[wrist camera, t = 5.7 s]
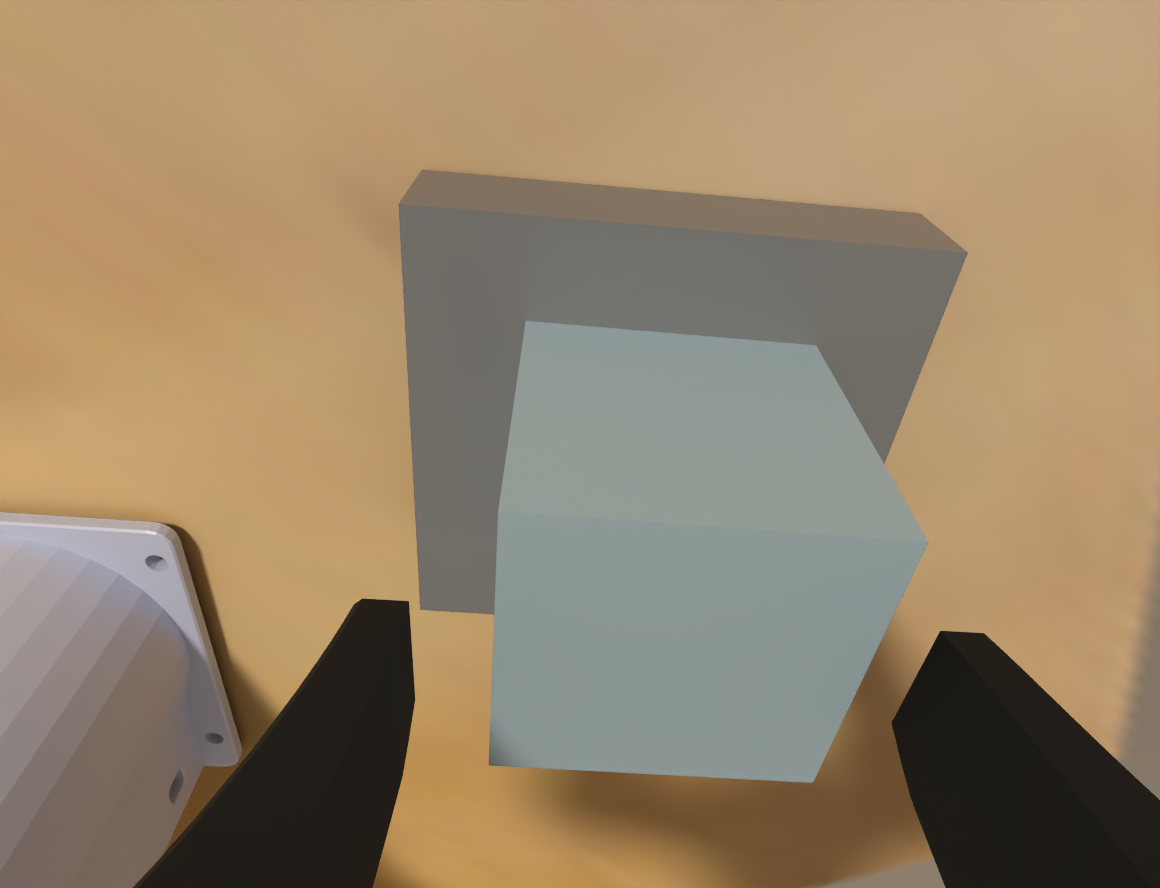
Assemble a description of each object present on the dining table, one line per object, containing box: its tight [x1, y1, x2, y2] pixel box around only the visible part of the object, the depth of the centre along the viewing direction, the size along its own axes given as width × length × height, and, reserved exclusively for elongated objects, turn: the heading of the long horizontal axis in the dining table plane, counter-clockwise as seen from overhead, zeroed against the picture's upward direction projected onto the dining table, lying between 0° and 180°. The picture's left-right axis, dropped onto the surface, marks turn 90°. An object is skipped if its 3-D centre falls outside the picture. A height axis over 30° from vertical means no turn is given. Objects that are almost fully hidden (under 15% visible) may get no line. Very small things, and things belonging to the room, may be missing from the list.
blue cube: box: [489, 321, 929, 783], centre depth 12 cm, size 5×5×5 cm
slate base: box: [399, 170, 968, 614], centre depth 15 cm, size 9×9×2 cm
